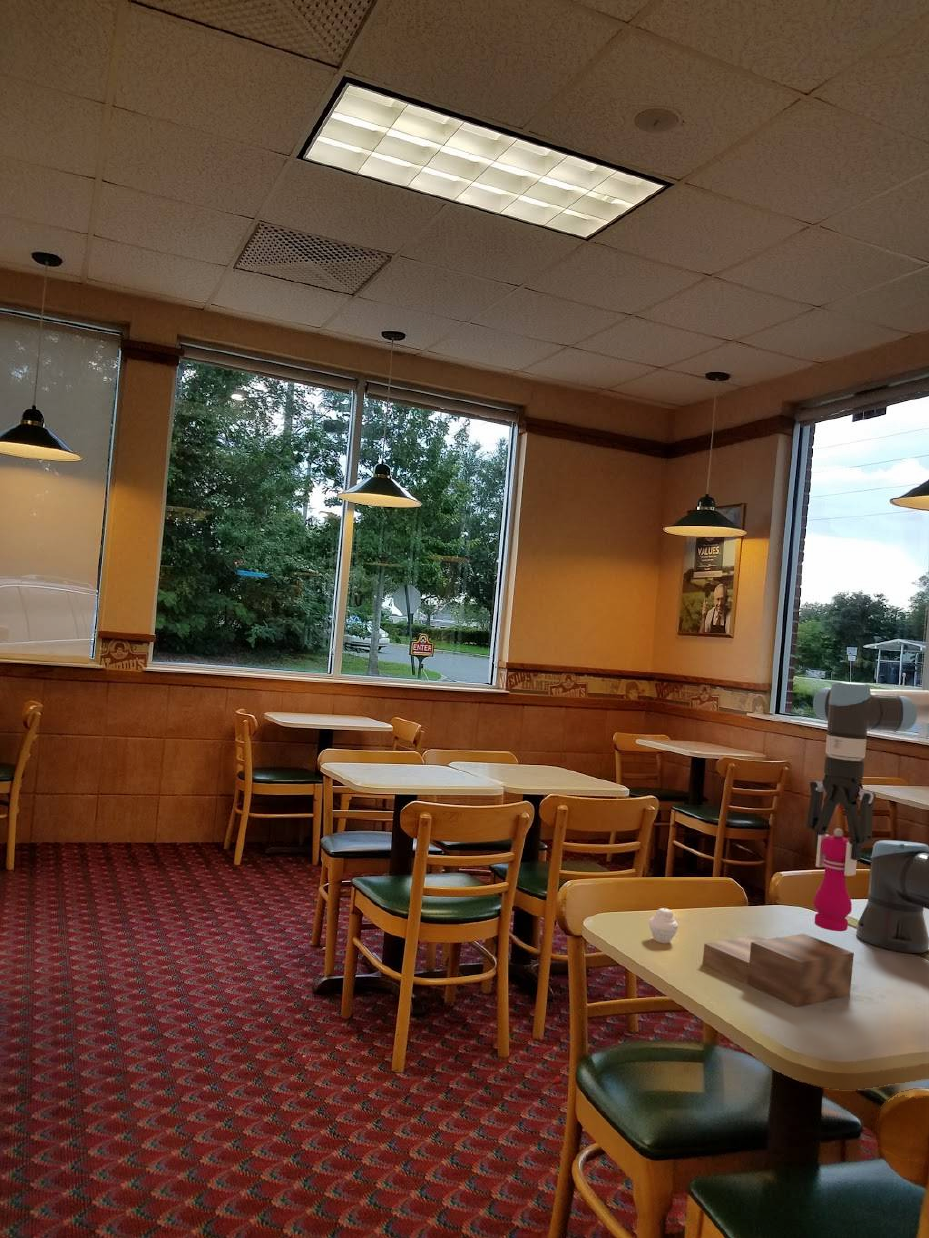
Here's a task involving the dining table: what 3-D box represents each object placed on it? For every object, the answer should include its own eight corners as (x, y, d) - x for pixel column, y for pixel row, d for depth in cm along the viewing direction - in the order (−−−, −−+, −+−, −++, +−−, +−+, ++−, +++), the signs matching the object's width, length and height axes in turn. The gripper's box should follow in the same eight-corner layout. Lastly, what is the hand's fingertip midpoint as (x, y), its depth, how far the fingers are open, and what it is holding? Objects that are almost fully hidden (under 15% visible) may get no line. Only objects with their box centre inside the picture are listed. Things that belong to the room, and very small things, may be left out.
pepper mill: (853, 934, 183) (861, 834, 183) (815, 929, 184) (823, 829, 184) (845, 923, 190) (853, 827, 190) (809, 918, 191) (817, 822, 192)
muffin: (682, 944, 193) (686, 911, 194) (661, 947, 190) (664, 913, 190) (662, 934, 199) (665, 902, 199) (641, 937, 196) (644, 904, 196)
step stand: (754, 954, 192) (758, 916, 192) (849, 995, 173) (853, 952, 173) (702, 963, 183) (706, 923, 183) (796, 1007, 164) (801, 962, 164)
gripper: (793, 750, 193) (784, 859, 193) (876, 765, 178) (867, 885, 177) (815, 750, 197) (806, 857, 197) (898, 765, 182) (889, 881, 181)
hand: (835, 870), depth 187 cm, fingers closed on pepper mill, 6 cm apart
